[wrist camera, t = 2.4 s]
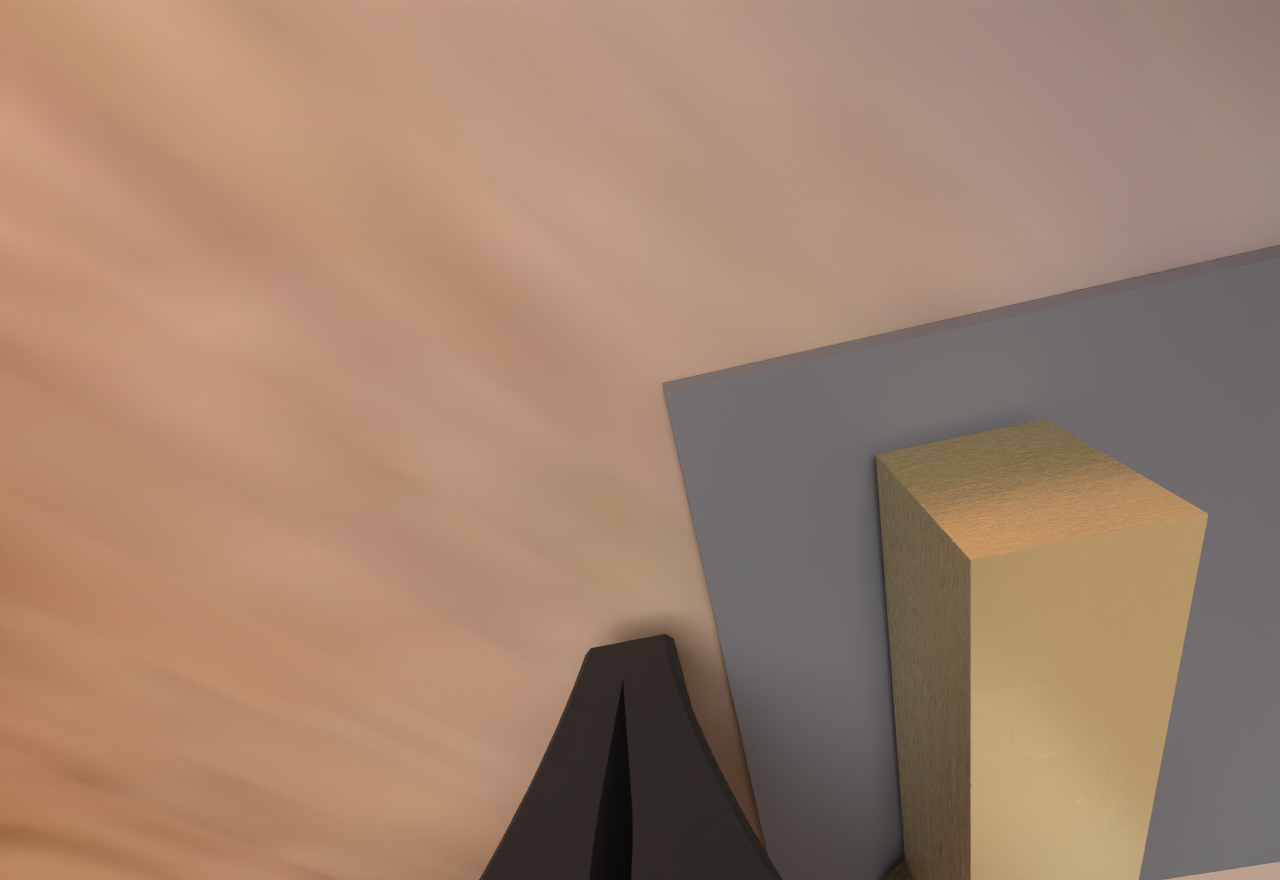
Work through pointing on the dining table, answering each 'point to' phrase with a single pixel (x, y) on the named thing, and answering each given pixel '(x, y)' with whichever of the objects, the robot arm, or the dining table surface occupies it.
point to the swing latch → (1030, 651)
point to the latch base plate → (963, 405)
